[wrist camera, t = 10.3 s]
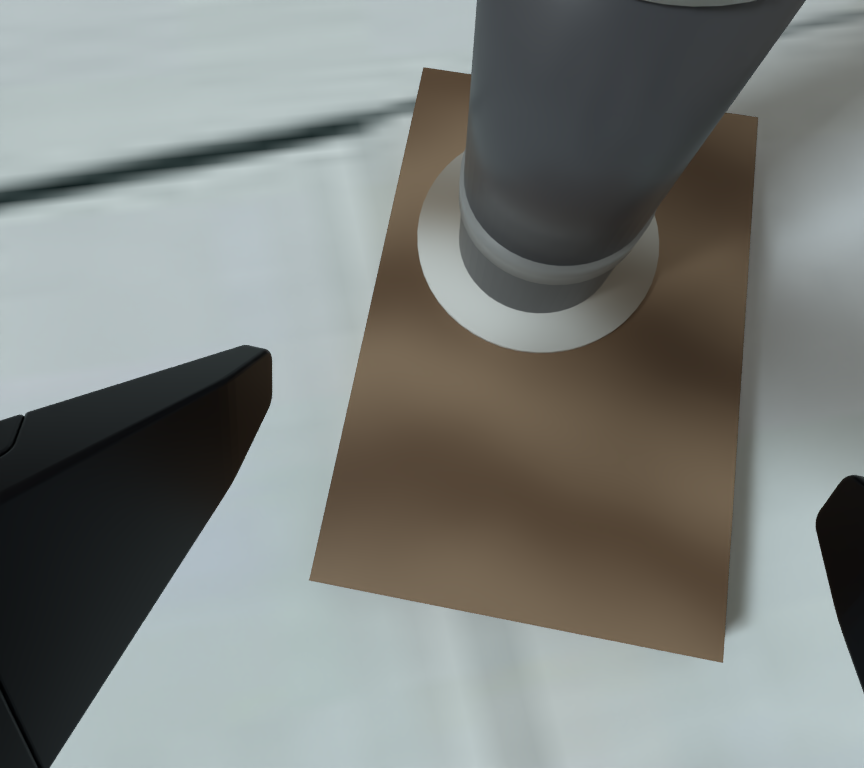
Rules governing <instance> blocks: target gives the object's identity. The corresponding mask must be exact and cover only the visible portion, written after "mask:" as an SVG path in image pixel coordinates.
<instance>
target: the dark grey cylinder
mask: <svg viewBox="0 0 864 768" xmlns="http://www.w3.org/2000/svg"><path fill="white" fill-rule="evenodd" d="M805 1H806V0H477V8H476V21H475V34H474V47H473V60H472V73H471V86H470V99H469V112H468V125H467V138H466V148H465V151H464V154H463V158H462V162H461V170H460V182H459V208H460V213H461V216H460V229H459V247H460V253H461V257H462V260H463V263H464V266H465V268H466V270H467V272H468V274H469V275H470V277H471V278H472V279H473V281H474V282H475V283H476V284H477V286H478V287H479V288H480V289H481V290H482V291H483V292H484V293H486V294H487V295H488V296H489V297H491V298H492V299H494V300H495V301H497V302H499V303H501V304H503V305H505V306H507V307H509V308H512V309H515V310H519V311H523V312H528V313H552V312H559V311H562V310H566V309H569V308H571V307H574V306H576V305H578V304H580V303H582V302H583V301H585V300H587V299H588V298H589V297H590V296H592V295H593V294H594V293H595V292H596V291H597V290H598V289H599V288H600V287H601V286H602V284H603V283H604V282H605V280H606V279H607V277H608V276H609V275H610V273H611V272H612V270H613V269H614V268H615V266H616V265H617V264H619V263H620V262H621V261H622V260H623V259H624V258H625V257H626V256H627V255H628V254H629V253H630V251H631V250H632V249H633V247H634V246H635V245H636V243H637V242H638V241H639V239H640V238H641V236H642V235H643V234H644V232H645V231H646V229H647V228H648V227H649V225H650V223H651V221H652V219H653V217H654V215H655V212H656V209H657V207H658V206H659V205H660V203H661V202H662V201H663V199H664V198H665V196H666V195H667V194H668V192H669V191H670V189H671V188H672V187H673V185H674V184H675V182H676V181H677V180H678V178H679V177H680V175H681V174H682V173H683V171H684V170H685V168H686V167H687V166H688V164H689V163H690V161H691V160H692V159H693V157H694V156H695V154H696V153H697V152H698V150H699V149H700V147H701V146H702V145H703V143H704V142H705V140H706V139H707V138H708V136H709V135H710V133H711V132H712V131H713V129H714V128H715V126H716V125H717V124H718V122H719V121H720V119H721V118H722V117H723V115H724V114H725V112H726V111H727V110H728V108H729V107H730V105H731V104H732V103H733V101H734V100H735V98H736V97H737V96H738V94H739V93H740V91H741V90H742V89H743V87H744V86H745V85H746V83H747V82H748V80H749V79H750V78H751V76H752V75H753V73H754V72H755V71H756V69H757V68H758V66H759V65H760V64H761V62H762V61H763V59H764V58H765V57H766V55H767V54H768V52H769V51H770V50H771V48H772V47H773V45H774V44H775V43H776V41H777V40H778V38H779V37H780V36H781V34H782V33H783V31H784V30H785V29H786V27H787V26H788V24H789V23H790V22H791V20H792V19H793V17H794V16H795V15H796V13H797V12H798V10H799V9H800V8H801V6H802V5H803V3H804V2H805Z"/></svg>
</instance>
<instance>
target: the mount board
mask: <svg viewBox="0 0 864 768" xmlns="http://www.w3.org/2000/svg"><path fill="white" fill-rule="evenodd" d="M470 86H471V74H464V73H458V72H451V71H444V70H437V69H431V68H423V72H422V76H421V81H420V85H419V90H418V94H417V99H416V103H415V108H414V112H413V117H412V121H411V126H410V130H409V135H408V139H407V144H406V148H405V153H404V157H403V162H402V166H401V171H400V175H399V180H398V184H397V189H396V193H395V198H394V202H393V207H392V211H391V216H390V220H389V225H388V229H387V234H386V238H385V243H384V247H383V252H382V256H381V261H380V265H379V269H378V274H377V278H376V283H375V287H374V292H373V296H372V301H371V305H370V310H369V314H368V319H367V323H366V328H365V332H364V337H363V341H362V346H361V350H360V355H359V359H358V364H357V368H356V373H355V377H354V382H353V386H352V391H351V395H350V400H349V404H348V409H347V413H346V418H345V422H344V427H343V431H342V436H341V440H340V445H339V449H338V454H337V458H336V462H335V467H334V471H333V476H332V480H331V485H330V489H329V494H328V498H327V503H326V507H325V512H324V516H323V521H322V525H321V530H320V534H319V539H318V543H317V548H316V552H315V557H314V561H313V566H312V570H311V575H310V579H309V580H310V581H315V582H320V583H325V584H330V585H335V586H340V587H345V588H350V589H355V590H360V591H365V592H370V593H375V594H380V595H385V596H390V597H395V598H400V599H405V600H410V601H415V602H420V603H425V604H430V605H436V606H441V607H446V608H451V609H456V610H461V611H466V612H471V613H476V614H481V615H486V616H491V617H496V618H501V619H506V620H511V621H516V622H521V623H526V624H531V625H536V626H541V627H546V628H551V629H556V630H561V631H566V632H571V633H576V634H581V635H586V636H591V637H596V638H601V639H606V640H611V641H616V642H621V643H626V644H631V645H636V646H641V647H646V648H651V649H656V650H661V651H667V652H672V653H677V654H682V655H687V656H692V657H697V658H702V659H707V660H712V661H717V662H722V663H723V654H724V639H725V623H726V608H727V592H728V576H729V561H730V545H731V530H732V514H733V499H734V483H735V468H736V452H737V437H738V421H739V405H740V390H741V374H742V359H743V343H744V328H745V312H746V297H747V281H748V265H749V250H750V234H751V219H752V203H753V188H754V172H755V157H756V141H757V126H758V117H752V116H745V115H739V114H732V113H725V114H724V115H723V117H722V118H721V119H720V121H719V122H718V124H717V125H716V126H715V128H714V129H713V131H712V132H711V133H710V135H709V136H708V138H707V139H706V140H705V142H704V143H703V145H702V146H701V147H700V149H699V150H698V152H697V153H696V154H695V156H694V157H693V159H692V160H691V161H690V163H689V164H688V166H687V167H686V168H685V170H684V171H683V173H682V174H681V175H680V177H679V178H678V180H677V181H676V182H675V184H674V185H673V187H672V188H671V189H670V191H669V192H668V194H667V195H666V196H665V198H664V199H663V201H662V202H661V203H660V205H659V206H658V207H657V209H656V212H655V215H654V217H653V219H652V221H651V223H650V225H649V227H648V228H647V229H646V231H645V232H644V234H643V235H642V236H641V238H640V239H639V241H638V242H637V243H636V245H635V246H634V247H633V249H632V250H631V251H630V253H629V254H628V255H627V256H626V257H625V258H624V259H623V260H622V261H621V262H620V263H619V264H617V265H616V266H615V268H614V269H613V270H612V272H611V273H610V275H609V276H608V277H607V279H606V280H605V282H604V283H603V284H602V286H601V287H600V288H599V289H598V290H597V291H596V292H595V293H594V294H593V295H592V296H590V297H589V298H588V299H587V300H585V301H583V302H582V303H580V304H578V305H576V306H574V307H571V308H569V309H566V310H562V311H559V312H552V313H528V312H523V311H519V310H515V309H512V308H509V307H507V306H505V305H503V304H501V303H499V302H497V301H495V300H494V299H492V298H491V297H489V296H488V295H487V294H486V293H484V292H483V291H482V290H481V289H480V288H479V287H478V286H477V284H476V283H475V282H474V281H473V279H472V278H471V277H470V275H469V274H468V272H467V270H466V268H465V266H464V263H463V260H462V257H461V253H460V247H459V229H460V216H461V213H460V208H459V182H460V170H461V162H462V158H463V154H464V151H465V148H466V138H467V125H468V112H469V99H470Z"/></svg>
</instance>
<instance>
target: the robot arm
mask: <svg viewBox="0 0 864 768" xmlns="http://www.w3.org/2000/svg"><path fill="white" fill-rule="evenodd" d="M271 399H272V357H271V353H270V352H269V351H268V350H267V349H263V348H258V347H254V346H249V345H242V346H239V347H236V348H233V349H229V350H226V351H223V352H220V353H217V354H213V355H210V356H207V357H204V358H201V359H197V360H194V361H191V362H188V363H184V364H181V365H178V366H175V367H172V368H168V369H165V370H162V371H159V372H155V373H152V374H149V375H146V376H143V377H139V378H136V379H133V380H130V381H127V382H123V383H120V384H117V385H114V386H110V387H107V388H104V389H101V390H98V391H94V392H91V393H88V394H85V395H82V396H78V397H75V398H72V399H69V400H65V401H62V402H59V403H56V404H53V405H49V406H46V407H43V408H40V409H36V410H33V411H30V412H27V413H26V414H25V417H24V416H23V415H17V416H13V417H10V418H7V419H4V420H1V421H0V768H50V766H51V765H52V763H53V762H54V760H55V759H56V757H57V755H58V754H59V752H60V751H61V749H62V748H63V746H64V745H65V743H66V741H67V740H68V738H69V737H70V735H71V734H72V732H73V731H74V729H75V727H76V726H77V724H78V723H79V721H80V720H81V718H82V717H83V715H84V713H85V712H86V710H87V709H88V707H89V706H90V704H91V703H92V701H93V699H94V698H95V696H96V695H97V693H98V692H99V690H100V689H101V687H102V685H103V684H104V682H105V681H106V679H107V678H108V676H109V675H110V673H111V671H112V670H113V668H114V667H115V665H116V664H117V662H118V661H119V659H120V657H121V656H122V654H123V653H124V651H125V650H126V648H127V647H128V645H129V643H130V642H131V640H132V639H133V637H134V636H135V634H136V632H137V631H138V629H139V628H140V626H141V625H142V623H143V622H144V620H145V618H146V617H147V615H148V614H149V612H150V611H151V609H152V608H153V606H154V604H155V603H156V601H157V600H158V598H159V597H160V595H161V594H162V592H163V590H164V589H165V587H166V586H167V584H168V583H169V581H170V580H171V578H172V576H173V575H174V573H175V572H176V570H177V569H178V567H179V566H180V564H181V562H182V561H183V559H184V558H185V556H186V555H187V553H188V552H189V550H190V548H191V547H192V545H193V544H194V542H195V541H196V539H197V538H198V536H199V534H200V533H201V531H202V530H203V528H204V527H205V525H206V524H207V522H208V520H209V519H210V517H211V516H212V514H213V513H214V511H215V510H216V508H217V506H218V505H219V503H220V502H221V500H222V499H223V497H224V495H225V494H226V492H227V491H228V489H229V487H230V486H231V484H232V482H233V481H234V479H235V477H236V475H237V473H238V471H239V469H240V467H241V465H242V463H243V461H244V459H245V456H246V454H247V452H248V450H249V448H250V446H251V444H252V442H253V440H254V438H255V436H256V434H257V432H258V429H259V427H260V425H261V423H262V421H263V419H264V417H265V415H266V413H267V411H268V409H269V406H270V403H271ZM816 532H817V536H818V540H819V544H820V548H821V552H822V557H823V561H824V565H825V569H826V573H827V577H828V582H829V586H830V590H831V594H832V598H833V602H834V606H835V610H836V614H837V617H838V621H839V624H840V627H841V630H842V633H843V636H844V639H845V642H846V645H847V648H848V650H849V653H850V656H851V659H852V662H853V664H854V667H855V670H856V673H857V676H858V678H859V681H860V684H861V687H862V689H863V692H864V477H862V476H857V475H851V476H847V477H846V478H844V479H843V480H842V481H841V482H840V483H839V485H838V486H837V488H836V489H835V490H834V492H833V493H832V494H831V496H830V497H829V499H828V500H827V501H826V503H825V504H824V506H823V507H822V508H821V510H820V511H819V513H818V515H817V518H816Z"/></svg>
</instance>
